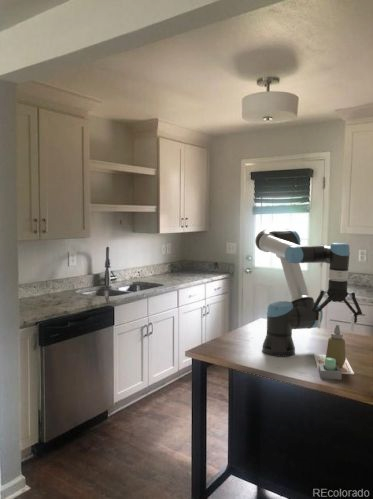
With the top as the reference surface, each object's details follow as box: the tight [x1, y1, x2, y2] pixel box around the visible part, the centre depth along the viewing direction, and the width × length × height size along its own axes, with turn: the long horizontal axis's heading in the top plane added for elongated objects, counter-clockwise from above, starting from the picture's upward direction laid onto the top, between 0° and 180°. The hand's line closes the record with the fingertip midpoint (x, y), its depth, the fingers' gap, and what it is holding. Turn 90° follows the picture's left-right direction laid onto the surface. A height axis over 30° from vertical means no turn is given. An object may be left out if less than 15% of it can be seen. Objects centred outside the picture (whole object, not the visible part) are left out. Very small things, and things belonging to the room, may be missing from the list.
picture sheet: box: [313, 353, 355, 375], centre depth 185 cm, size 14×21×1 cm, turn 169°
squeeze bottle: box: [325, 324, 347, 368], centre depth 180 cm, size 8×8×18 cm
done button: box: [324, 358, 336, 371], centre depth 172 cm, size 4×4×5 cm
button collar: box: [317, 364, 343, 381], centre depth 172 cm, size 8×8×3 cm
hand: (335, 328), depth 180 cm, fingers open, 13 cm apart
